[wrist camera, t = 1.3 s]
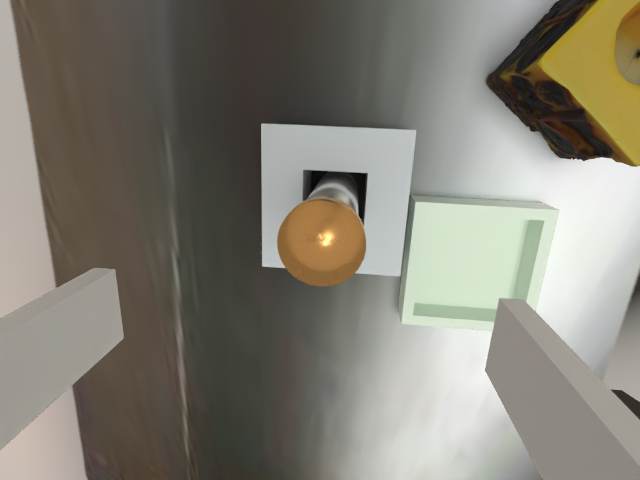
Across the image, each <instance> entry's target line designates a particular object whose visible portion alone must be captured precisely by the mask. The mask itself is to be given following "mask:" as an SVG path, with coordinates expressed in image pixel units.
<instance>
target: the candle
mask: <svg viewBox="0 0 640 480" xmlns="http://www.w3.org/2000/svg"><path fill="white" fill-rule="evenodd" d="M487 85H488V86H489V87H490V89H492V90H493V91H494V92H495V93H496V94H497V95H498V96H499V97H500V98H501V99H502V100H503V101H504V102H505V104H506V106H508V107H509V108H510V110H511V111H512V112H513V113H514V114H516V115H517V116H518V117H519V118H520V119H521V121H522V122H523V123H524V124H525V125H526V126H528V127H531V131H533V132H535V131H539V132H541V133H542V135H543V136H544V138H545V139H546V140H547V142H548V143H549V145H550V147H551V149H552V150H553V151H554V152H555V154H556V155H558V156H559V157H560V158H565V159H571V158H573V159H576V158H577V159H582V160H583V161H585V160H588V159H594V158H600V157H604V158H612V159H613V160H615V161H616V162H621V163H625V164H627V165H630V166H640V0H559V1H558V2H556V3H555V5H554V6H553V7H552V8H551V10H550V12H549V13H548V14H546V15H545V16H544V17H543V19H542V20H541V21H540V22H539V23H538V24H537V25H536V26H535V27H534V28H533V29H532V30H531V31H530V32H529V33H528V34H527V36H526V37H525V38H524V39H522V40H521V42H520V45H519V46H518V47H517V48H516V49H515V50H514V51H513V52H512V54H511V55H510V56H508V57H507V58H506V59H505V60H504V62H503V63H502V64H501V65H500V66H499V67H498V68H497V70H495V71H494V72H493V73H491V74H489V77H488V79H487Z"/></svg>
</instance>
